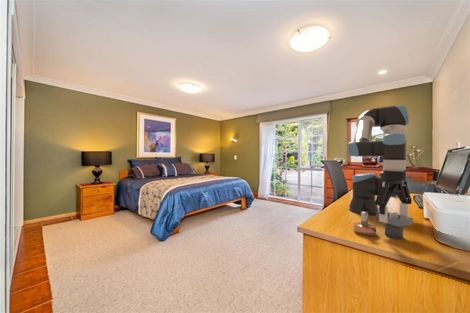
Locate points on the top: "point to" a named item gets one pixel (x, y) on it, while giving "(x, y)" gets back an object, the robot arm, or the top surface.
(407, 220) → the hollow square frame
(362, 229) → the hub
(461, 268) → the top surface
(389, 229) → the stand
